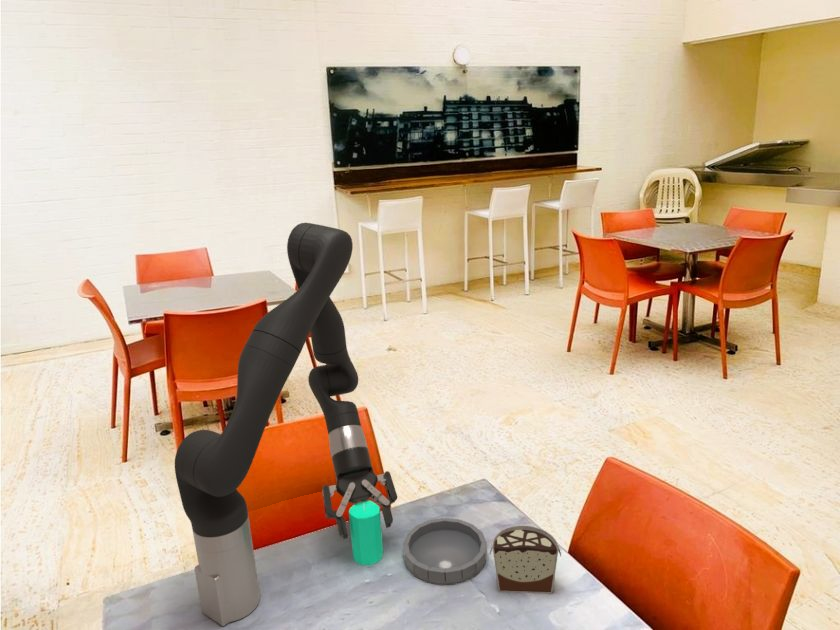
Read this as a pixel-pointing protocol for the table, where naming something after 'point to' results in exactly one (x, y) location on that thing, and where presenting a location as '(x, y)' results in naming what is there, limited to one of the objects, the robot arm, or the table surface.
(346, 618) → the table surface
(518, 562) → the food container
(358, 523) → the candle
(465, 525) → the plate
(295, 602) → the table surface
